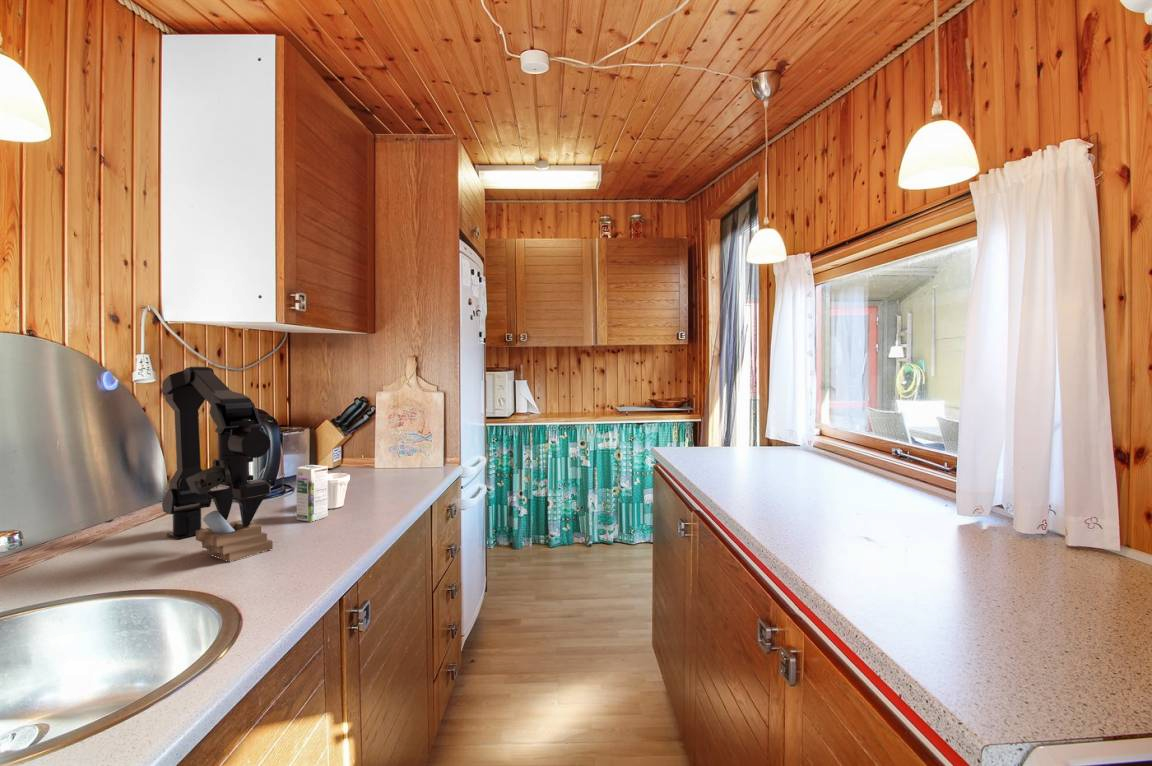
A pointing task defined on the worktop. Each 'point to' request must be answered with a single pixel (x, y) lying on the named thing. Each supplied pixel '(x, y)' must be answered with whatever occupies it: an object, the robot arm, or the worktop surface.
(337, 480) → the cup
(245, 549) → the leaning socket
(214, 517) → the gray dowel
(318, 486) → the syrup box
